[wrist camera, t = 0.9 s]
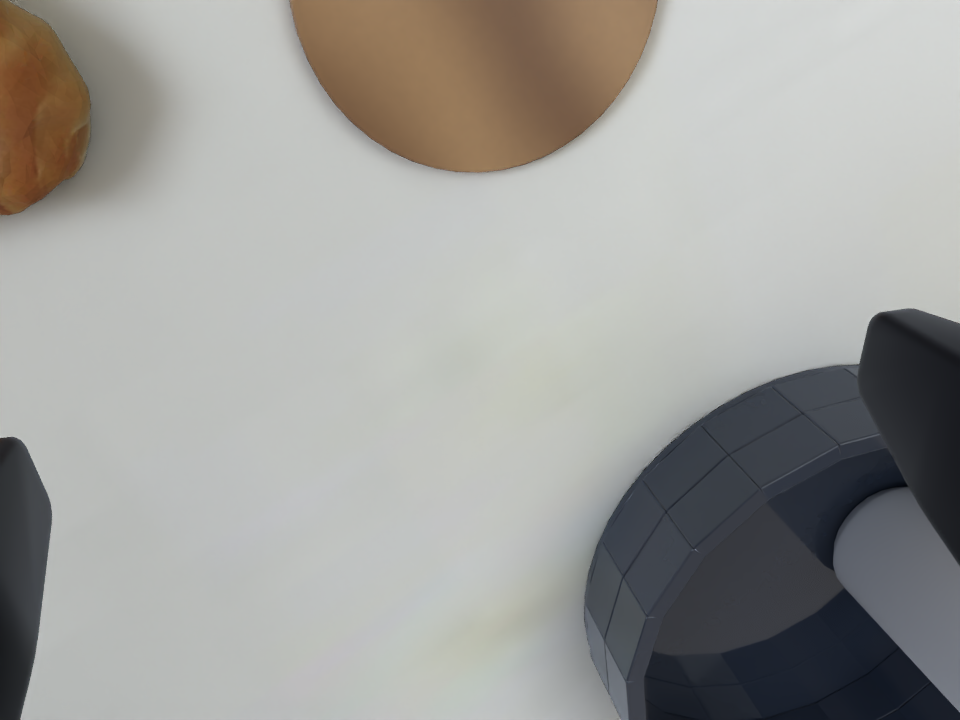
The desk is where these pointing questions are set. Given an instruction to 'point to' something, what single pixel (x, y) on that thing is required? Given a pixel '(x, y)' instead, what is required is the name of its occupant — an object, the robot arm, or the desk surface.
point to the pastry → (37, 111)
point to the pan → (751, 569)
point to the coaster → (473, 72)
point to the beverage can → (905, 582)
